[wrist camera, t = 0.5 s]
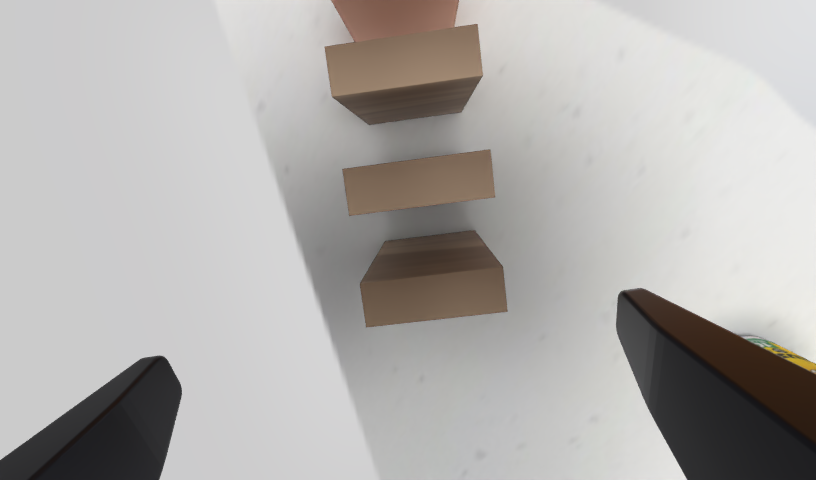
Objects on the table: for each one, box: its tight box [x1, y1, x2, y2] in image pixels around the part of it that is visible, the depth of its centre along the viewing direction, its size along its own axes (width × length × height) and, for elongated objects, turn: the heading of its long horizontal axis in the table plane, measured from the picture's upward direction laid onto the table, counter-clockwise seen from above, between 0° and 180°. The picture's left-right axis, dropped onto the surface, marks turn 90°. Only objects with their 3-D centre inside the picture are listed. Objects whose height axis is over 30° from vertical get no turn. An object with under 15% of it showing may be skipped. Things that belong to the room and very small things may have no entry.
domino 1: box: [360, 230, 507, 327], centre depth 22 cm, size 2×5×10 cm, turn 98°
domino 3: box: [325, 24, 483, 125], centre depth 20 cm, size 2×5×10 cm, turn 97°
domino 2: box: [343, 150, 495, 216], centre depth 21 cm, size 2×5×10 cm, turn 97°
